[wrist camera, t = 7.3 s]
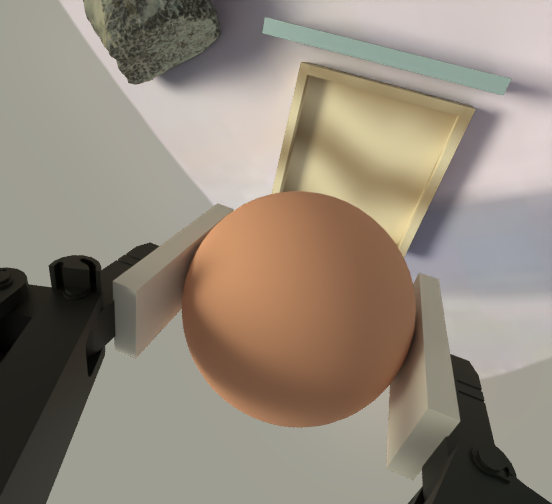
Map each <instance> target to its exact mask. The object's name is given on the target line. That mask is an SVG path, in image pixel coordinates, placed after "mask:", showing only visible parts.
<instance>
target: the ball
mask: <svg viewBox="0 0 552 504" xmlns="http://www.w3.org/2000/svg"><path fill="white" fill-rule="evenodd" d="M415 315H416V303H415V293H414V287H413V283H412V279H411V275H410V272H409V269H408V267H407V264H406V262H405V260H404V258H403V256H402V254H401V252H400V250H399V249H398V247H397V245H396V244H395V242H394V240H393V239H392V238H391V237H390V236H389V234H388V233H387V232H386V231H385V229H384V228H382V227H381V226H380V225H379V224H378V223H377V222H376V221H375V220H374V219H373V218H372V217H370V216H369V215H367V214H366V213H365V212H363V211H362V210H361V209H359V208H357V207H355V206H353V205H352V204H350V203H348V202H346V201H343V200H341V199H338V198H336V197H333V196H329V195H325V194H321V193H313V192H305V191H288V192H281V193H274V194H271V195H267V196H264V197H260V198H257V199H255V200H252V201H250V202H248V203H246V204H244V205H242V206H241V207H239V208H237V209H236V210H234V211H233V212H231V213H230V214H228V215H227V216H225V217H224V218H223V219H222V220H221V221H220V222H219V223H218V224H217V225H216V226H215V227H214V228H213V229H212V230H211V231H210V232H209V234H208V235H207V236H206V237H205V239H204V240H203V241H202V243H201V245H200V246H199V248H198V250H197V252H196V253H195V255H194V257H193V259H192V261H191V264H190V267H189V270H188V273H187V276H186V279H185V284H184V289H183V297H182V319H183V328H184V333H185V337H186V341H187V344H188V347H189V350H190V353H191V355H192V357H193V360H194V362H195V364H196V365H197V367H198V369H199V370H200V372H201V374H202V375H203V377H204V378H205V379H206V381H207V382H208V383H209V385H210V386H211V387H212V388H213V389H214V390H215V391H216V392H217V393H218V394H219V395H220V396H221V397H222V398H223V399H224V400H225V401H227V402H228V403H229V404H231V405H232V406H233V407H235V408H237V409H238V410H240V411H242V412H243V413H245V414H247V415H249V416H251V417H253V418H256V419H258V420H261V421H264V422H267V423H270V424H274V425H279V426H285V427H312V426H321V425H326V424H330V423H333V422H335V421H338V420H341V419H344V418H347V417H349V416H351V415H353V414H355V413H357V412H358V411H360V410H361V409H363V408H364V407H366V406H367V405H369V404H370V403H371V402H373V401H374V400H375V399H376V398H377V397H378V396H379V395H380V394H381V393H382V392H383V391H384V390H385V389H386V388H387V387H388V386H389V385H390V384H391V382H392V381H393V379H394V378H395V377H396V375H397V374H398V372H399V370H400V368H401V367H402V365H403V363H404V361H405V359H406V356H407V354H408V351H409V348H410V345H411V342H412V338H413V334H414V327H415Z"/></svg>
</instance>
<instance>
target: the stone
mask: <svg viewBox="0 0 552 504" xmlns="http://www.w3.org/2000/svg"><path fill="white" fill-rule="evenodd" d="M83 1H84V7H85V13H86V16H87V19H88V20H89V21H90V23H91V25H92V26H93V29H94V31H95V32H96V34H97V35H98V36H99V37H100V39H101V41H102V43H103V45H104V47H105V48H106V49H107V50H108V51H109V54H110V56H111V57H113V58H115V59H116V60H117V65H118V68H119V70H120V71H121V72H122V74H124V75H125V77H127V80H128V83H132V84H140V83H143V82H146V81H150V80H152V79H153V78H154V77H156V76H158V75H162V74H163V73H165V72H166V71H167V70H168V69H170V68H173V67H175V66H176V65H177V64H180V63H182V62H184V61H186V60H188V59H191V58H193V57H194V56H196V55H198V54H200V53H202V52H203V51H204V50H205V49H206V48H207V47H208V46H209V45H210V44H211V43H213V42H214V41H215V40H216V39H217V38H218V37H219V36H220V28H219V22H218V18H217V13H216V11H215V9H214V8H213V6H212V4H211V3H210V1H209V0H83Z"/></svg>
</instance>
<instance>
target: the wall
mask: <svg viewBox="0 0 552 504" xmlns="http://www.w3.org/2000/svg"><path fill="white" fill-rule="evenodd" d="M262 33H264V34H267V35H271V36H275V37H279V38H283V39H287V40H291V41H294V42H298V43H302V44H306V45H310V46H314V47H318V48H321V49H325V50H329V51H333V52H337V53H341V54H345V55H349V56H352V57H356V58H360V59H364V60H368V61H372V62H376V63H379V64H383V65H387V66H391V67H395V68H399V69H403V70H406V71H410V72H414V73H418V74H422V75H426V76H430V77H434V78H437V79H441V80H445V81H449V82H453V83H457V84H461V85H464V86H468V87H472V88H476V89H480V90H484V91H488V92H491V93H495V94H499V95H504V93H505V91H506V89H507V87H508V85H509V83H510V81H511V79H510V78H506V77H502V76H498V75H494V74H490V73H486V72H482V71H478V70H474V69H470V68H466V67H462V66H458V65H454V64H450V63H446V62H442V61H438V60H434V59H430V58H426V57H422V56H418V55H414V54H410V53H406V52H402V51H398V50H394V49H390V48H386V47H382V46H378V45H374V44H370V43H366V42H362V41H358V40H354V39H350V38H346V37H342V36H338V35H334V34H330V33H326V32H322V31H318V30H314V29H310V28H307V27H303V26H299V25H295V24H291V23H287V22H283V21H279V20H275V19H271V18H267V17H265V20H264V26H263V32H262Z"/></svg>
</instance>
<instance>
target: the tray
mask: <svg viewBox="0 0 552 504" xmlns="http://www.w3.org/2000/svg"><path fill="white" fill-rule="evenodd" d="M475 110H476V109H475V108H473V107H472V106H469V105H466V104H462V103H458V102H454V101H451V100H447V99H443V98H439V97H436V96H432V95H428V94H424V93H421V92H417V91H413V90H409V89H406V88H402V87H398V86H394V85H391V84H387V83H383V82H379V81H376V80H372V79H368V78H364V77H361V76H357V75H353V74H349V73H346V72H342V71H338V70H334V69H331V68H327V67H323V66H319V65H316V64H312V63H308V62H301V64H300V69H299V73H298V78H297V82H296V87H295V91H294V96H293V100H292V105H291V109H290V114H289V118H288V123H287V127H286V131H285V136H284V140H283V145H282V149H281V154H280V158H279V163H278V167H277V172H276V176H275V181H274V185H273V190H272V194H274V193H281V192H288V191H305V192H313V193H321V194H325V195H329V196H333V197H336V198H338V199H341V200H343V201H346V202H348V203H350V204H352V205H353V206H355V207H357V208H359V209H361V210H362V211H363V212H365V213H366V214H367V215H369V216H370V217H372V218H373V219H374V220H375V221H376V222H377V223H378V224H379V225H380V226H381V227H382V228H384V229H385V231H386V232H387V233H388V234H389V236H390V237H391V238H392V239H393V240H394V242H395V244H396V245H397V247H398V249H399V250H400V252H401V254H402V256H403V258H404V256H405V254H406V252H407V250H408V248H409V246H410V244H411V242H412V240H413V238H414V236H415V234H416V232H417V230H418V227H419V225H420V223H421V221H422V219H423V217H424V215H425V213H426V211H427V209H428V207H429V205H430V203H431V201H432V199H433V196H434V194H435V192H436V190H437V188H438V186H439V184H440V182H441V180H442V178H443V176H444V174H445V172H446V170H447V168H448V165H449V163H450V161H451V159H452V157H453V155H454V153H455V151H456V149H457V147H458V145H459V143H460V141H461V139H462V137H463V134H464V132H465V130H466V128H467V126H468V124H469V122H470V120H471V118H472V116H473V114H474V112H475Z"/></svg>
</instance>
